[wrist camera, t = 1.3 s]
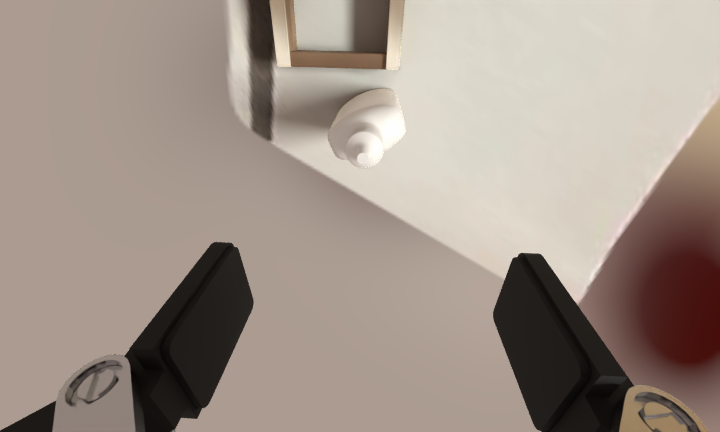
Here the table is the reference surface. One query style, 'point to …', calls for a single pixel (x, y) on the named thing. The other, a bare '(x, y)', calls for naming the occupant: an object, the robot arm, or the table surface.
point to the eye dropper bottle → (367, 127)
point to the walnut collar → (333, 59)
